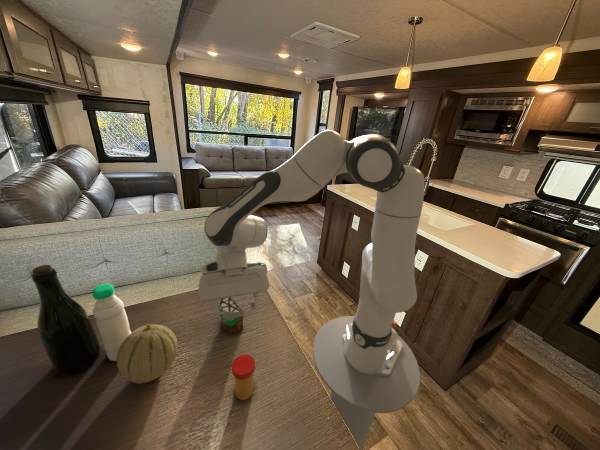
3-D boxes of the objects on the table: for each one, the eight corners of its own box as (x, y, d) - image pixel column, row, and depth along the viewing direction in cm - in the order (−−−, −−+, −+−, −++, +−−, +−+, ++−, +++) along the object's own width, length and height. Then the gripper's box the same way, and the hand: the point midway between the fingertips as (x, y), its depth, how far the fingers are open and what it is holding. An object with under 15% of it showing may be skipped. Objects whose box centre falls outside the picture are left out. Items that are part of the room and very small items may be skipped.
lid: (228, 376, 63) (227, 372, 63) (237, 356, 69) (237, 352, 68) (250, 382, 63) (250, 377, 62) (257, 361, 68) (258, 356, 67)
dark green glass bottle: (45, 375, 69) (-5, 278, 56) (77, 344, 78) (41, 255, 65) (82, 378, 69) (41, 282, 56) (109, 346, 78) (80, 258, 65)
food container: (213, 319, 92) (211, 298, 88) (228, 312, 96) (227, 291, 92) (228, 341, 84) (227, 319, 80) (244, 332, 88) (244, 310, 84)
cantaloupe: (121, 405, 64) (107, 366, 57) (124, 359, 75) (112, 322, 69) (183, 379, 71) (177, 342, 65) (177, 341, 82) (171, 306, 76)
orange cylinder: (247, 378, 72) (247, 353, 68) (256, 392, 69) (257, 366, 65) (232, 389, 69) (230, 363, 65) (240, 404, 66) (239, 378, 62)
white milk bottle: (106, 349, 77) (85, 285, 67) (133, 338, 82) (116, 276, 72) (109, 366, 73) (86, 299, 62) (137, 354, 77) (119, 289, 67)
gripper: (264, 263, 81) (270, 306, 77) (197, 271, 74) (200, 320, 70) (267, 258, 76) (274, 304, 71) (196, 267, 69) (199, 319, 64)
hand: (237, 312), depth 71 cm, fingers open, 8 cm apart
